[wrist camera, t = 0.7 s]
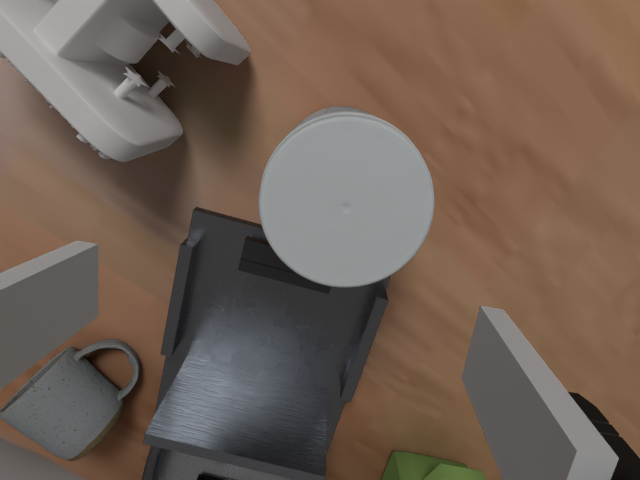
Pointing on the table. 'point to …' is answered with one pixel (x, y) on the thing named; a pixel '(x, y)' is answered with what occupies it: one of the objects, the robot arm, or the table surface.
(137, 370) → the ceramic mug
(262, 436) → the motor clip
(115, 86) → the cable organizer
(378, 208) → the supplement tub
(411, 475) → the gearbox
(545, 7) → the table surface
